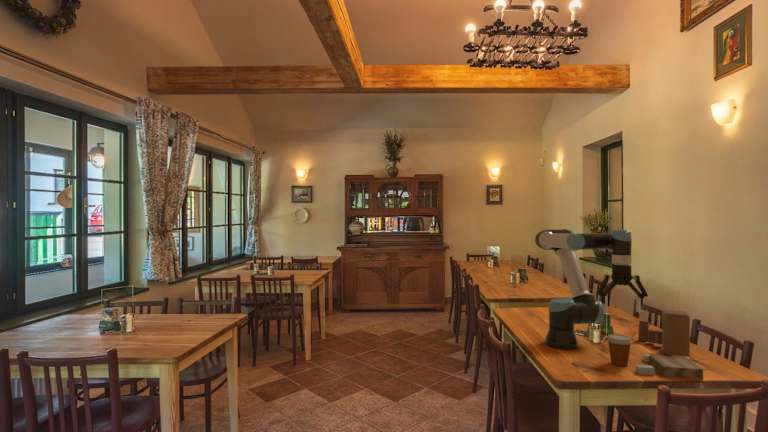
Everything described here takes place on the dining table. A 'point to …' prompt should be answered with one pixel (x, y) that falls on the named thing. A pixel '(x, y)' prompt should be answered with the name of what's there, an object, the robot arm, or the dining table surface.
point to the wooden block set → (648, 333)
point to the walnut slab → (676, 367)
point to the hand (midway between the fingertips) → (621, 311)
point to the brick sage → (646, 357)
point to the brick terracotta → (682, 356)
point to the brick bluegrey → (645, 369)
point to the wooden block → (675, 333)
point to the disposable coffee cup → (619, 349)
